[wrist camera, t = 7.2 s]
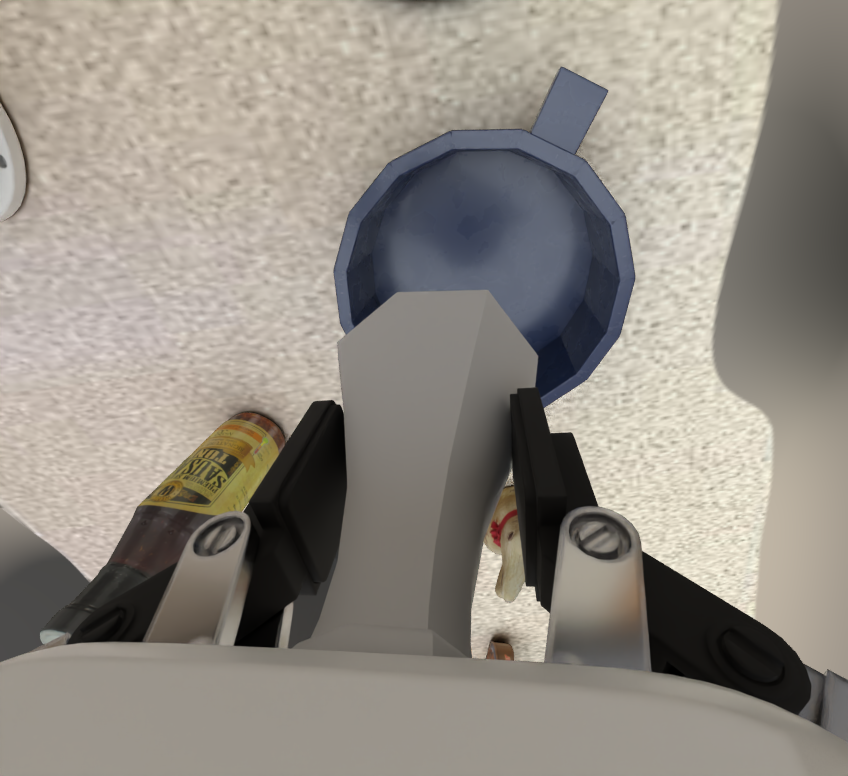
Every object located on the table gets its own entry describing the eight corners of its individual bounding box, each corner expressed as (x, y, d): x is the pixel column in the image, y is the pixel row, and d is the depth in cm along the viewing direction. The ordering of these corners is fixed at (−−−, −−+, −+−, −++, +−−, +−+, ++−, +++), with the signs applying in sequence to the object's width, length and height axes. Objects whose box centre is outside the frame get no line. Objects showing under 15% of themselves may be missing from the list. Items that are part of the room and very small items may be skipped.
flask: (389, 471, 17) (304, 796, 8) (305, 324, 14) (26, 608, 5) (559, 433, 15) (675, 810, 6) (508, 248, 12) (601, 512, 3)
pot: (330, 354, 33) (300, 393, 27) (428, 27, 21) (410, -17, 16) (507, 427, 34) (512, 479, 29) (688, 158, 23) (753, 159, 17)
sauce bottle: (278, 407, 36) (99, 626, 19) (295, 459, 40) (154, 685, 23) (215, 408, 37) (-6, 615, 21) (236, 457, 41) (60, 673, 24)
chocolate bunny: (556, 508, 38) (576, 608, 30) (493, 538, 42) (496, 636, 33) (521, 474, 37) (532, 571, 28) (459, 509, 40) (453, 604, 32)
